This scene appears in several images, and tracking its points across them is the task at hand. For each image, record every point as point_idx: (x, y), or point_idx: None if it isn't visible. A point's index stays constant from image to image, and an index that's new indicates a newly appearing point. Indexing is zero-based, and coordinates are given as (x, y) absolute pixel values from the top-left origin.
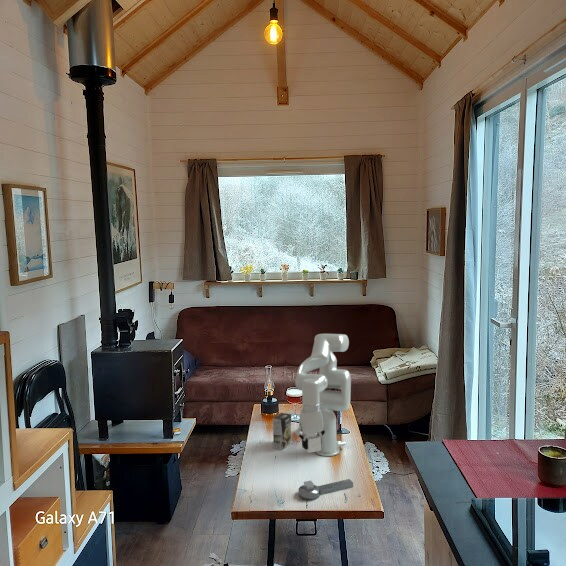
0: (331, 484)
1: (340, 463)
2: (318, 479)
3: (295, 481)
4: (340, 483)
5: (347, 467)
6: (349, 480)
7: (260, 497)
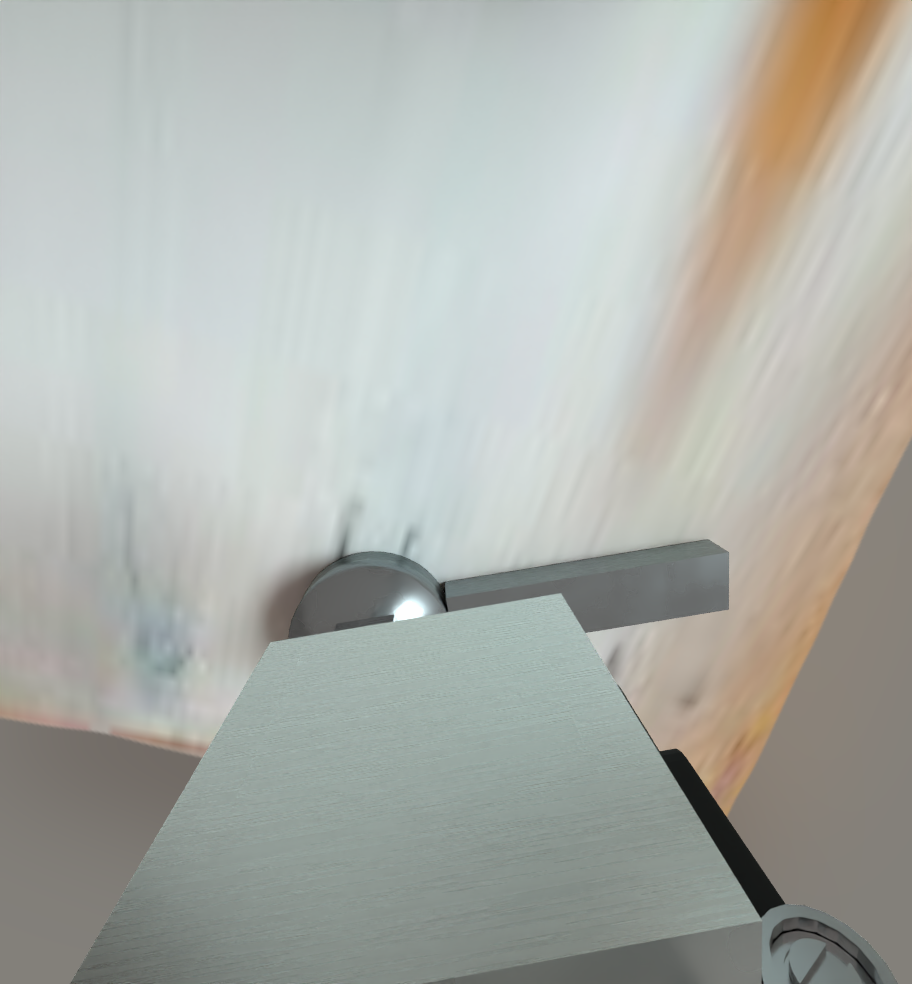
0: (564, 598)
1: (808, 177)
2: (508, 422)
3: (313, 403)
4: (634, 599)
5: (824, 282)
6: (718, 574)
7: (7, 570)
